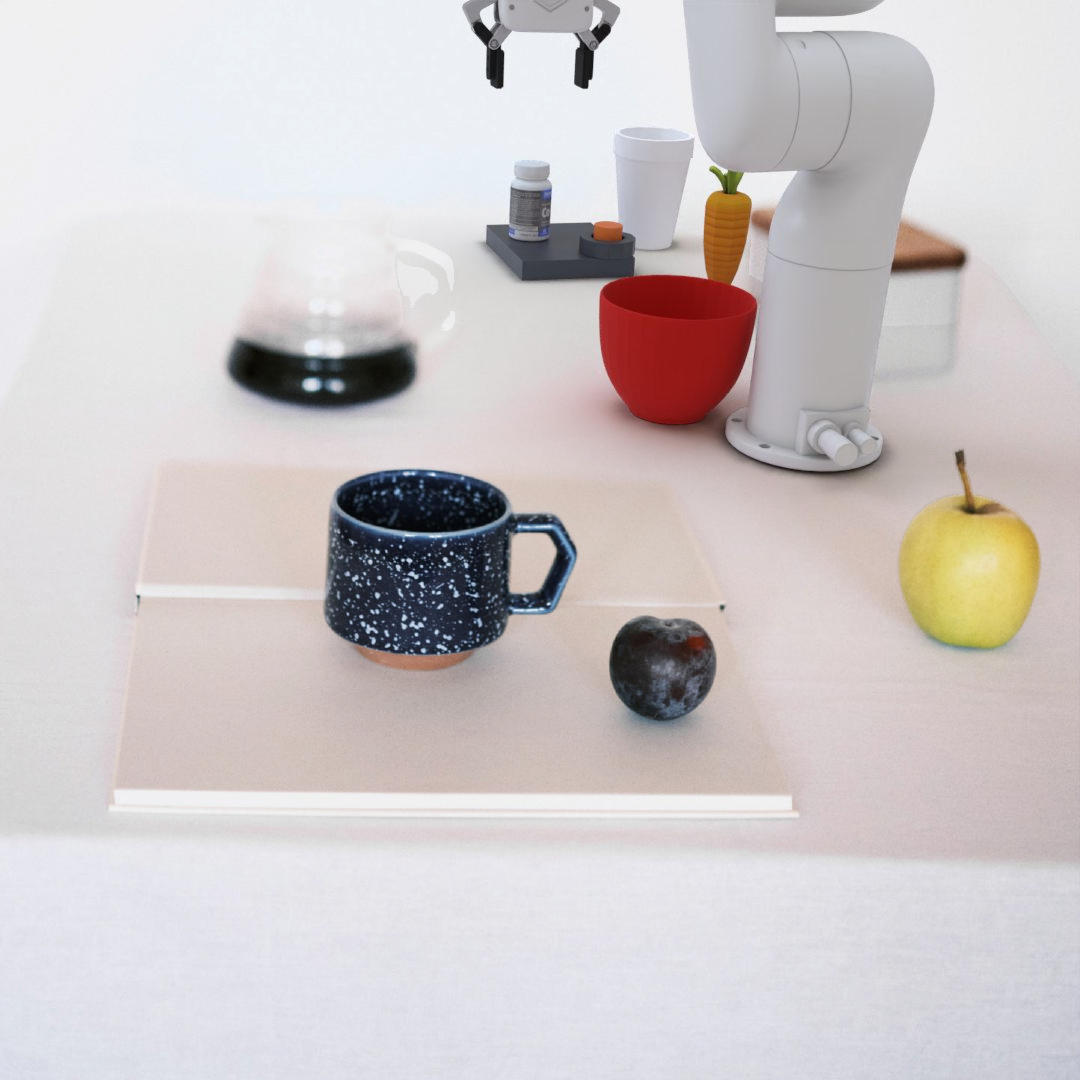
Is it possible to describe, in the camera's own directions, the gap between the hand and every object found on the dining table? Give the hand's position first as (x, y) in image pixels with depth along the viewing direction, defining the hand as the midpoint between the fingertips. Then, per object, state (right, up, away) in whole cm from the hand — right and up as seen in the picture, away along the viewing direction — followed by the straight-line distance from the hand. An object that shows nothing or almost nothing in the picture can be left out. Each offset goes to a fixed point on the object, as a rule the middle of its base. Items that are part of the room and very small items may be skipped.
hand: (539, 87), depth 151 cm
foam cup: (+13, -14, +17) cm, 25 cm away
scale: (+2, -17, +8) cm, 19 cm away
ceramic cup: (+12, -38, -32) cm, 51 cm away
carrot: (+19, -24, -3) cm, 31 cm away
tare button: (+8, -16, +3) cm, 18 cm away
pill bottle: (-1, -15, +8) cm, 17 cm away
